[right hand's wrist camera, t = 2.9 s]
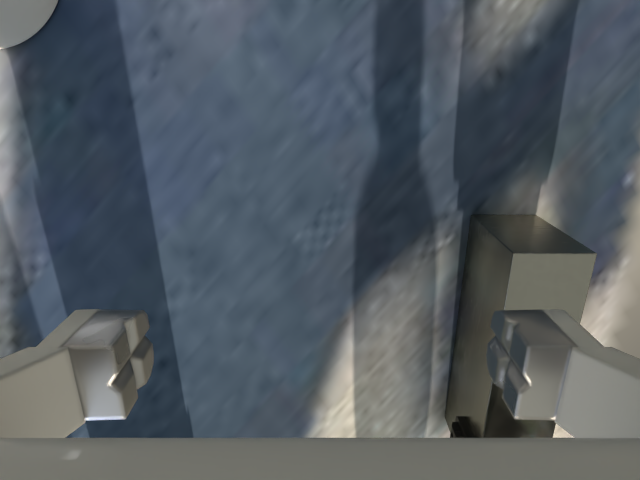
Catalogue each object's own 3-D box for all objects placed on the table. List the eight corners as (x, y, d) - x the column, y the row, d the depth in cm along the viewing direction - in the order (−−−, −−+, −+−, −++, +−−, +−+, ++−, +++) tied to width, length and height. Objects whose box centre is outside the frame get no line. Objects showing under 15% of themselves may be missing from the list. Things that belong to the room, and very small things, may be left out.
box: (470, 214, 38) (513, 253, 30) (536, 214, 38) (597, 253, 30) (444, 417, 46) (472, 494, 38) (498, 417, 46) (539, 494, 38)
